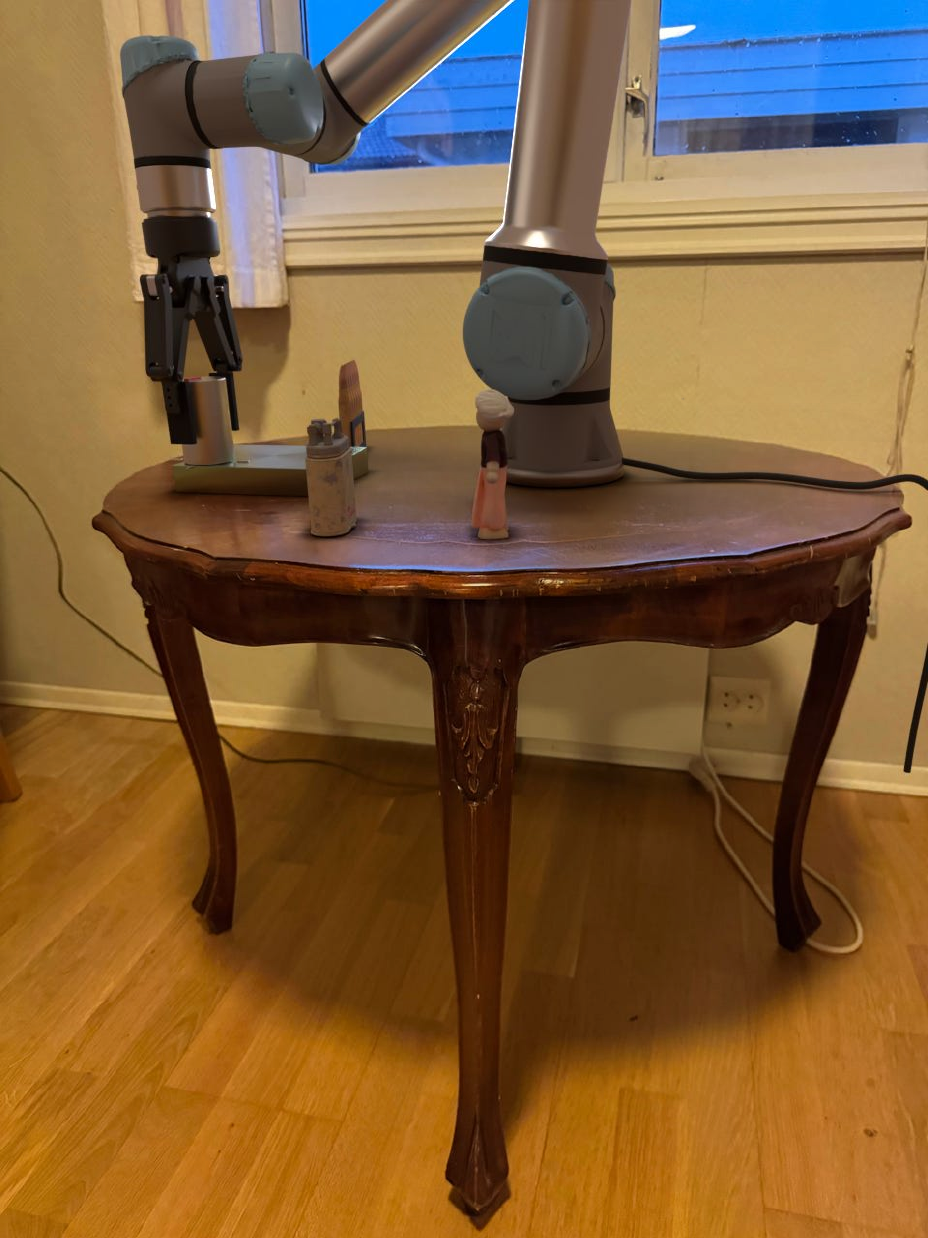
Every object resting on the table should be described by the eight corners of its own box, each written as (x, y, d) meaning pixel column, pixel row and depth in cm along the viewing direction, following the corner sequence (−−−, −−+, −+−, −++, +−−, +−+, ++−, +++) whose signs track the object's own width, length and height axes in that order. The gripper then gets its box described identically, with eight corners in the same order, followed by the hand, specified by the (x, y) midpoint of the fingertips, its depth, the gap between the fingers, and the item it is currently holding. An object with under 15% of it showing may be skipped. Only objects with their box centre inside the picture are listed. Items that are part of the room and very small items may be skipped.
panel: (368, 471, 107) (367, 445, 106) (318, 501, 93) (315, 471, 92) (221, 467, 112) (218, 442, 111) (151, 495, 97) (146, 466, 96)
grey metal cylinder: (200, 455, 103) (189, 373, 99) (243, 456, 101) (234, 373, 98) (174, 464, 98) (162, 378, 94) (219, 465, 96) (209, 378, 93)
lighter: (324, 518, 86) (316, 414, 82) (363, 518, 85) (356, 413, 82) (307, 538, 79) (297, 425, 75) (348, 538, 79) (340, 425, 75)
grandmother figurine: (467, 524, 82) (464, 385, 78) (508, 522, 82) (507, 383, 78) (475, 547, 75) (472, 395, 71) (520, 545, 75) (520, 393, 71)
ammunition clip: (354, 461, 113) (348, 365, 109) (340, 461, 114) (333, 365, 109) (366, 447, 123) (361, 358, 119) (353, 447, 124) (347, 359, 119)
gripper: (200, 223, 101) (224, 422, 109) (80, 210, 82) (119, 452, 90) (260, 221, 99) (279, 423, 107) (151, 206, 80) (185, 454, 88)
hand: (206, 436), depth 99 cm, fingers open, 9 cm apart
